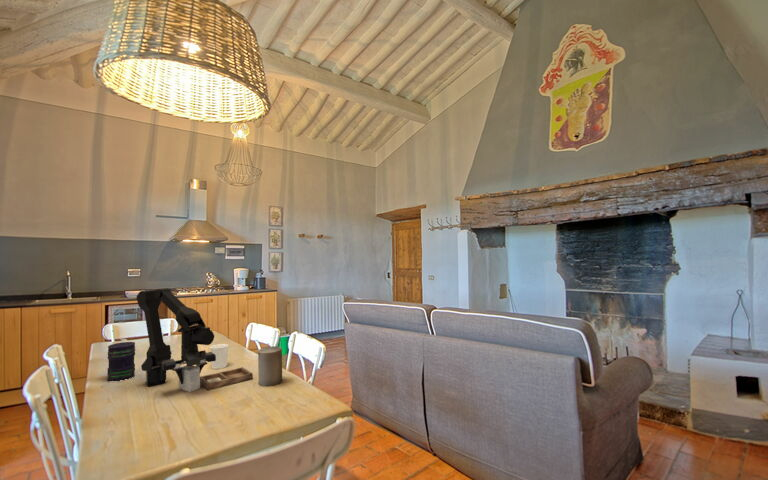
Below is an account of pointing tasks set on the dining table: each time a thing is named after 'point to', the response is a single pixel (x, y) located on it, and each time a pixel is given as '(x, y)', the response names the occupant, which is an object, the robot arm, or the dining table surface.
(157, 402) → the dining table surface
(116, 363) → the storage jar
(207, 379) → the tray
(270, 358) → the pillar candle
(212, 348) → the white cup
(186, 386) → the medicine box
